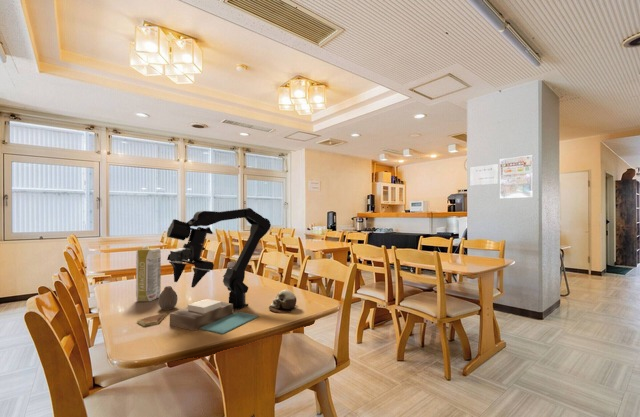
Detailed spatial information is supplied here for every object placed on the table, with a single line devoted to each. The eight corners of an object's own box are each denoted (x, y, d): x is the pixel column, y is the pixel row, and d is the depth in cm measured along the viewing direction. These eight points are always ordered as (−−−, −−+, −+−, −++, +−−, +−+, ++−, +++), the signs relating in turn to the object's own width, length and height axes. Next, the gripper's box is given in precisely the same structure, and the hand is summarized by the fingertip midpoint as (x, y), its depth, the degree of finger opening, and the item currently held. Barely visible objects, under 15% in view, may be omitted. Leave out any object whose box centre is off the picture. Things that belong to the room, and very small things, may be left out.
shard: (167, 315, 114) (167, 311, 114) (177, 319, 110) (177, 315, 110) (136, 324, 106) (136, 319, 106) (146, 329, 101) (146, 323, 101)
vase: (167, 312, 117) (167, 289, 117) (154, 310, 120) (154, 288, 120) (181, 306, 124) (181, 285, 124) (168, 305, 126) (168, 284, 126)
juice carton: (146, 296, 140) (146, 244, 140) (162, 296, 140) (163, 244, 140) (133, 302, 131) (133, 247, 131) (150, 302, 130) (151, 247, 131)
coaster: (205, 304, 114) (205, 298, 114) (221, 307, 110) (221, 301, 110) (187, 310, 107) (187, 304, 107) (204, 313, 103) (204, 307, 103)
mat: (237, 312, 116) (237, 311, 116) (258, 316, 111) (258, 315, 111) (200, 329, 100) (200, 327, 100) (222, 334, 95) (222, 333, 95)
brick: (210, 309, 119) (210, 299, 120) (233, 314, 114) (233, 303, 114) (169, 325, 103) (169, 313, 103) (194, 330, 98) (194, 318, 98)
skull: (261, 309, 117) (270, 285, 123) (272, 321, 123) (280, 298, 130) (288, 312, 112) (296, 287, 119) (298, 323, 119) (305, 300, 125)
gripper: (161, 235, 111) (148, 278, 108) (196, 243, 102) (183, 289, 99) (185, 240, 120) (174, 279, 117) (219, 248, 112) (208, 290, 109)
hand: (184, 284), depth 110 cm, fingers open, 9 cm apart
